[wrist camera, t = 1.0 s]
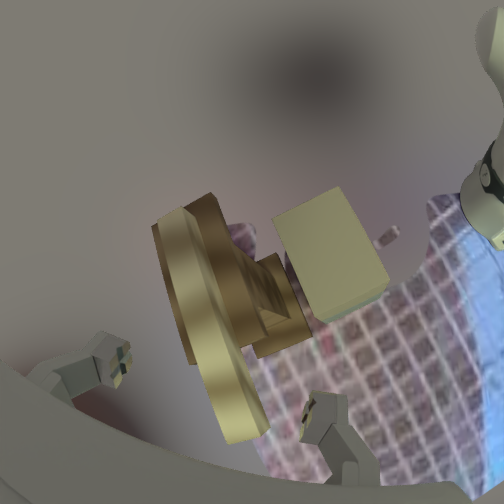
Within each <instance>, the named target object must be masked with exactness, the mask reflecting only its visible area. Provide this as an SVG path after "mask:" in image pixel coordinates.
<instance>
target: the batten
mask: <svg viewBox="0 0 504 504" xmlns="http://www.w3.org/2000/svg"><path fill="white" fill-rule="evenodd" d="M157 223H158V228H159V232H160V236H161V240H162V244H163V248H164V252H165V256H166V260H167V264H168V268H169V271H170V275H171V279H172V282H173V286H174V290H175V293H176V297H177V300H178V304H179V307H180V310H181V314H182V317H183V320H184V324H185V327H186V330H187V333H188V337H189V340H190V343H191V346H192V349H193V352H194V355H195V358H196V361H197V364H198V367H199V370H200V373H201V376H202V378H203V381H204V384H205V387H206V390H207V393H208V395H209V398H210V401H211V403H212V406H213V409H214V411H215V414H216V417H217V419H218V422H219V424H220V427H221V429H222V432H223V434H224V437H225V439H226V442H227V444H228V445H229V444H233V443H237V442H241V441H246V440H250V439H254V438H257V437H261V436H262V435H263V434H264V433H265V432H266V431H267V430H268V429H269V428H270V427H271V426H270V424H269V421H268V419H267V417H266V414H265V412H264V409H263V406H262V404H261V401H260V399H259V396H258V394H257V391H256V389H255V386H254V383H253V381H252V378H251V376H250V373H249V370H248V368H247V365H246V362H245V360H244V357H243V354H242V352H241V349H240V346H239V344H238V341H237V338H236V335H235V333H234V330H233V327H232V324H231V321H230V319H229V316H228V313H227V310H226V307H225V304H224V302H223V299H222V296H221V293H220V290H219V287H218V284H217V281H216V278H215V275H214V273H213V270H212V267H211V264H210V261H209V258H208V255H207V252H206V248H205V245H204V242H203V239H202V236H201V233H200V230H199V227H198V224H197V221H196V217H194V216H193V215H192V214H191V213H189V212H188V211H187V210H186V209H184V208H183V207H182V206H180V207H179V208H177V209H175V210H173V211H172V212H170V213H168V214H167V215H165V216H163V217H162V218H160V219H158V220H157Z"/></svg>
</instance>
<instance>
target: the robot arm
mask: <svg viewBox="0 0 504 504" xmlns="http://www.w3.org/2000/svg"><path fill="white" fill-rule="evenodd" d="M475 41H476V49H477V53H478V56H479V59H480V62H481V64H482V66H483V68H484V70H485V71H486V72H487V74H488V75H489V76H490V78H491V79H492V80H493V82H494V83H495V85H496V87H497V89H498V91H499V93H500V96H501V98H502V102H503V106H504V8H502V7H495V8H492V9H490V10H489V11H487V12H486V13H485V14H484V15H483V16H482V18H481V19H480V21H479V23H478V25H477V29H476V34H475ZM460 201H461V206H462V209H463V212H464V214H465V216H466V218H467V220H468V221H469V223H470V224H471V225H472V226H473V228H474V229H475V230H477V231H478V232H479V233H480V234H482V235H483V236H485V237H486V238H487V239H488V240H489V242H490V243H491V245H492V246H493V247H494V248H495V249H496V250H497V251H502V250H504V244H503V242H504V120H503V124H502V127H501V130H500V132H499V135H498V137H497V139H496V140H495V141H493V143H492V144H491V145H490V147H489V149H488V151H487V152H486V154H485V156H484V158H483V159H482V160H480V161H478V162H477V163H476V165H475V167H474V170H473V172H472V173H471V174H470V175H469V176H468V177H467V178H466V179H465V180H464V182H463V184H462V187H461V191H460ZM502 241H503V242H502ZM129 349H130V342H128V341H126V340H123V339H121V338H118V337H116V336H114V335H111V334H108V333H106V332H104V331H99V332H98V333H97V334H96V335H95V336H94V337H93V339H91V341H90V342H89V343H88V344H87V345H86V346H85V347H84V348H83V349H82V350H81V351H80V350H76V351H74V352H71V353H67V354H64V355H61V356H59V357H55V358H52V359H49V360H46V361H43V362H40V363H39V364H38V365H37V366H36V367H35V368H34V369H33V370H32V371H31V372H30V373H29V374H28V375H27V376H26V377H24V376H22V375H21V374H19V373H18V372H17V371H15V370H14V369H12V368H11V367H10V366H8V365H7V364H6V363H4V362H3V361H2V360H1V359H0V504H473V503H472V500H471V499H470V497H469V496H468V495H467V494H466V493H465V492H464V491H463V490H462V489H461V488H460V487H459V486H458V485H457V484H456V483H454V482H452V481H442V482H434V483H425V484H414V485H397V486H380V467H379V461H378V460H377V459H376V457H375V456H374V455H373V453H372V452H371V451H370V449H369V448H368V447H367V445H366V444H365V443H364V441H363V440H362V439H361V437H360V436H359V435H358V433H357V432H356V431H355V429H354V428H353V427H352V426H350V425H348V399H347V395H341V394H334V393H328V392H321V391H314V390H312V391H311V393H310V395H309V401H307V402H306V404H305V407H304V410H303V414H302V421H301V422H302V423H303V426H302V428H301V430H300V439H299V442H302V443H308V444H314V445H318V447H319V449H320V451H321V453H322V455H323V457H324V459H325V461H326V462H327V464H328V466H329V468H330V470H331V472H332V474H333V475H332V476H331V477H330V478H329V479H328V480H327V481H326V482H325V483H324V484H318V483H308V482H299V481H292V480H285V479H278V478H272V477H266V476H261V475H255V474H251V473H246V472H242V471H237V470H233V469H229V468H225V467H221V466H217V465H213V464H210V463H206V462H203V461H199V460H196V459H193V458H190V457H187V456H183V455H180V454H177V453H174V452H171V451H169V450H166V449H163V448H160V447H157V446H155V445H152V444H150V443H147V442H144V441H142V440H140V439H137V438H135V437H133V436H130V435H128V434H126V433H123V432H121V431H119V430H117V429H114V428H112V427H110V426H108V425H106V424H104V423H102V422H100V421H98V420H96V419H94V418H92V417H90V416H88V415H86V414H84V413H82V412H80V411H78V410H77V409H75V407H74V405H73V403H72V401H71V399H72V398H74V397H75V396H78V395H79V394H82V393H83V392H85V391H87V390H89V389H91V388H93V387H95V386H97V385H99V384H100V383H102V384H105V385H107V386H109V387H112V388H114V389H116V388H117V387H118V385H119V384H120V382H121V381H122V375H123V374H126V373H127V372H128V371H129V369H130V367H131V364H132V355H131V353H130V352H129Z"/></svg>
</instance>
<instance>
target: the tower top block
mask: <svg viewBox="0 0 504 504" xmlns="http://www.w3.org/2000/svg"><path fill="white" fill-rule="evenodd" d="M272 221H273V223H274V226H275V228H276V230H277V232H278V234H279V237H280V239H281V241H282V243H283V245H284V247H285V250H286V252H287V254H288V257H289V259H290V261H291V263H292V266H293V268H294V270H295V272H296V275H297V277H298V279H299V282H300V284H301V286H302V288H303V291H304V293H305V295H306V298H307V300H308V302H309V305H310V307H311V309H312V312H313V314H314V316H315V317H316V318H317V319H319V320H320V321H323V320H325V319H327V318H330V317H332V316H334V315H336V314H338V313H340V312H342V311H344V310H346V309H349V308H351V307H353V306H355V305H357V304H359V303H361V302H363V301H365V300H367V299H369V298H371V297H373V296H375V295H377V294H379V293H381V292H383V291H384V290H385V288H386V286H387V285H388V283H389V281H390V279H389V277H388V275H387V273H386V271H385V269H384V267H383V265H382V263H381V261H380V259H379V257H378V255H377V254H376V251H375V249H374V247H373V245H372V243H371V242H370V240H369V238H368V236H367V234H366V233H365V231H364V229H363V227H362V225H361V223H360V222H359V220H358V218H357V216H356V215H355V213H354V211H353V209H352V208H351V206H350V205H349V202H348V201H347V199H346V198H345V196H344V194H343V193H342V191H341V189H340V187H339V186H338V187H336V188H333V189H331V190H329V191H327V192H325V193H323V194H321V195H319V196H317V197H315V198H313V199H311V200H309V201H307V202H305V203H302V204H300V205H298V206H297V207H295V208H292V209H290V210H288V211H286V212H284V213H282V214H280V215H278V216H276V217H274V218H272Z"/></svg>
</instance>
